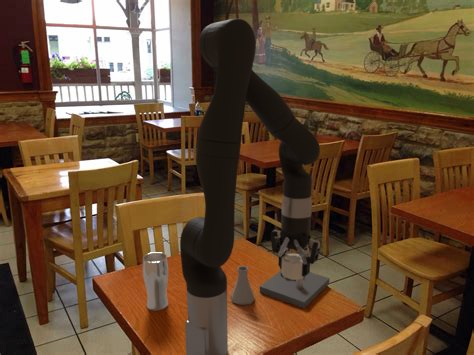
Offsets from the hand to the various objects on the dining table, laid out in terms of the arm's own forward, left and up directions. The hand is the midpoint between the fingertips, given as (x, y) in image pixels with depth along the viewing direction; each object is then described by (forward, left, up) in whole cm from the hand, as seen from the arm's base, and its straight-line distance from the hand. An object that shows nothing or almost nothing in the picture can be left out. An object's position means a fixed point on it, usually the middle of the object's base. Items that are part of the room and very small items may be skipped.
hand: (293, 271), depth 109 cm
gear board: (+14, +6, -13) cm, 20 cm away
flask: (-1, +16, -14) cm, 21 cm away
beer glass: (-18, +34, -14) cm, 41 cm away
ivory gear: (0, 0, -1) cm, 1 cm away
